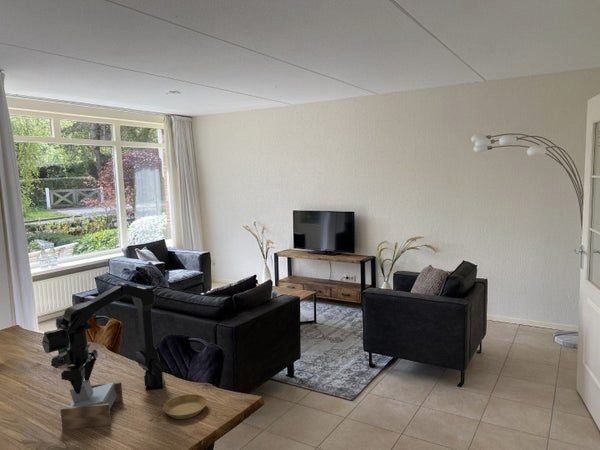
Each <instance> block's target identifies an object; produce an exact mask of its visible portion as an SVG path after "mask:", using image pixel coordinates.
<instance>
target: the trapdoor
mask: <svg viewBox="0 0 600 450" xmlns="http://www.w3.org/2000/svg"><path fill="white" fill-rule="evenodd" d="M108 383H109V384H106V385H102V386H98V387H95V388H92V389H93V394H92V396H91V397H90V399H89V400H85V401H82V402H78V403H74V402H73V401H72V402H71V404H70V405H69V406H68V407H76V406H86V405H96V404H107V403H109V406H110V409H111V408H112V406H113V405H114V403H115V402H114V401H115V399H116V397H117V394H116V391H115V388H114V385H115V384H114V382H108Z"/></svg>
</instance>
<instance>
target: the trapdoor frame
mask: <svg viewBox="0 0 600 450" xmlns="http://www.w3.org/2000/svg"><path fill="white" fill-rule="evenodd" d="M109 383H110V382H106V383H95V384H92V383H91V386H92V388H95V387H98V386H102V385H106V384H109ZM114 384H115V385H114V388H115V391H116V394H117V397H116V399H115V401H114V403H117V402H118V403H120V402H123V401H124V397H123V396H124V395H123V387H122V381H116V382H114ZM60 419H61V429H62V430H63V431H64V430H72V429H74V430H75V429H81V428H92V427H101V426H102V427H103V426H109V425H112V418H111V408H110V406H109V403H107V404H96V405H86V406H76V407H69V406H65V407H61V408H60Z"/></svg>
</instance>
